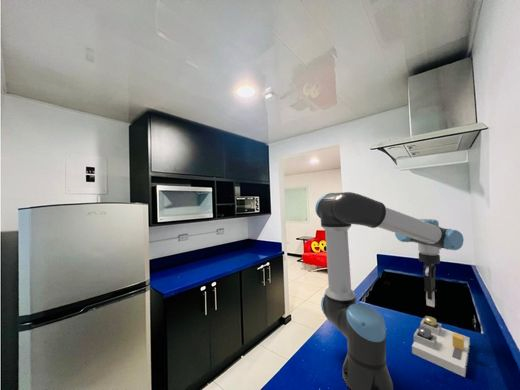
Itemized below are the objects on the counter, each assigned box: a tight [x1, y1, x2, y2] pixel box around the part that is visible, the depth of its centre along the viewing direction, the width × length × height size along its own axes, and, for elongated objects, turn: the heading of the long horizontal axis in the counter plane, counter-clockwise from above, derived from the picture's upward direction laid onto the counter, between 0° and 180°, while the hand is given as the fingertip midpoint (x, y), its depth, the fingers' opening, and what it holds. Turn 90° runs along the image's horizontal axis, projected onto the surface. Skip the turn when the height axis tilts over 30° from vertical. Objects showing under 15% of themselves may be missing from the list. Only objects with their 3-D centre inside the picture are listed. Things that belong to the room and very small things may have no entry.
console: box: [411, 317, 471, 378], centre depth 85 cm, size 24×15×6 cm, turn 132°
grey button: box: [418, 326, 431, 340], centre depth 85 cm, size 4×4×3 cm
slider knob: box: [452, 332, 465, 350], centre depth 81 cm, size 3×3×4 cm
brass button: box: [424, 315, 438, 328], centre depth 93 cm, size 4×4×3 cm
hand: (430, 305), depth 93 cm, fingers closed
